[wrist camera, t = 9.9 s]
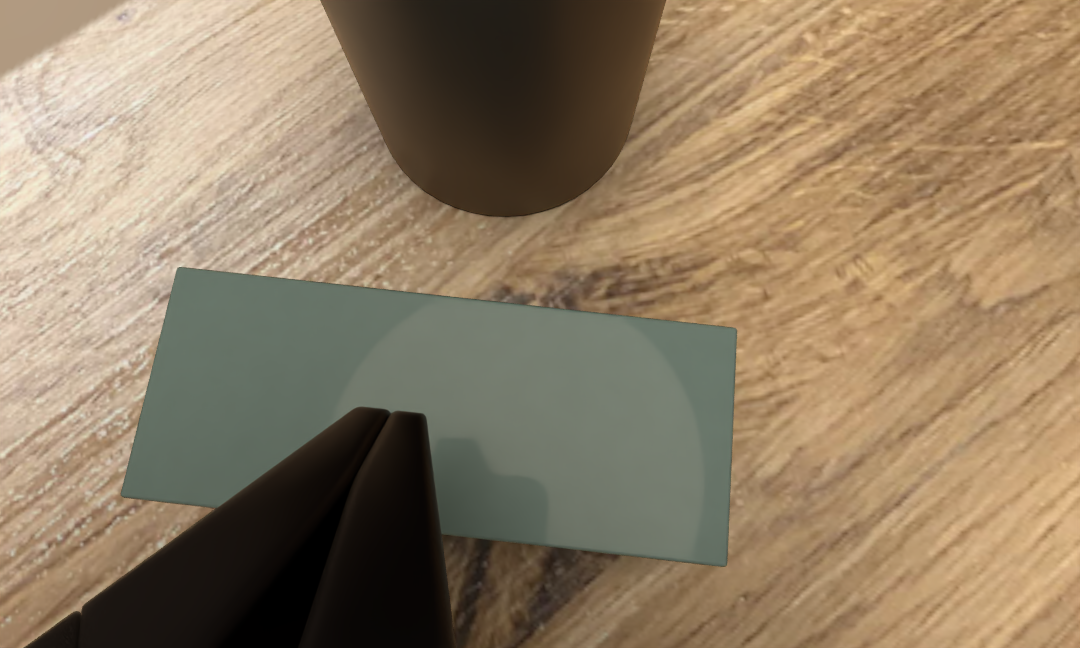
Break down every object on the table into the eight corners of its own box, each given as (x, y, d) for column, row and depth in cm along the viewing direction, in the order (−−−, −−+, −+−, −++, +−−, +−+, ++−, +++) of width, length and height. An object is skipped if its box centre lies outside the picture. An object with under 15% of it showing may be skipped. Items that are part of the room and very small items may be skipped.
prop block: (681, 543, 14) (728, 567, 10) (218, 490, 14) (118, 497, 10) (691, 359, 14) (738, 326, 11) (257, 311, 15) (176, 265, 11)
